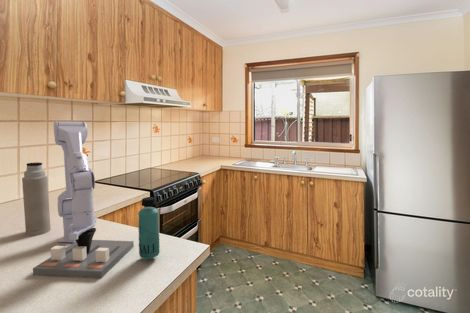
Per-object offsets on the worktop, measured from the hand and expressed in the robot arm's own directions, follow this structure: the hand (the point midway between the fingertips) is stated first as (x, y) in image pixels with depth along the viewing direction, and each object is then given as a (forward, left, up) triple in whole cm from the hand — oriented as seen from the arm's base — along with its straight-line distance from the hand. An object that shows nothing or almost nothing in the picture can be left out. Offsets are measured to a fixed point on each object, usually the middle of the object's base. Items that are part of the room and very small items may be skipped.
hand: (85, 253), depth 81 cm
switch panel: (-2, 0, -3) cm, 3 cm away
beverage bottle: (-4, +19, -3) cm, 20 cm away
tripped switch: (+3, 0, -1) cm, 3 cm away
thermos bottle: (-22, -34, -3) cm, 40 cm away
